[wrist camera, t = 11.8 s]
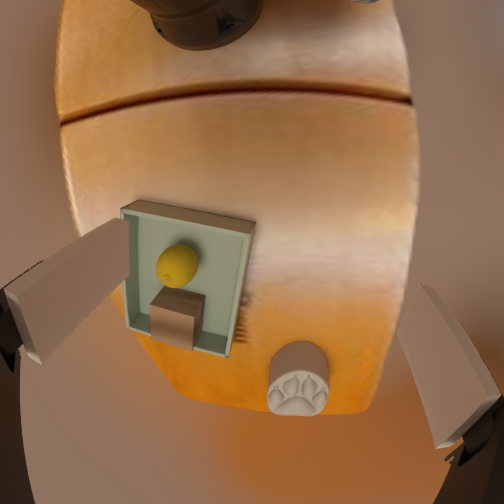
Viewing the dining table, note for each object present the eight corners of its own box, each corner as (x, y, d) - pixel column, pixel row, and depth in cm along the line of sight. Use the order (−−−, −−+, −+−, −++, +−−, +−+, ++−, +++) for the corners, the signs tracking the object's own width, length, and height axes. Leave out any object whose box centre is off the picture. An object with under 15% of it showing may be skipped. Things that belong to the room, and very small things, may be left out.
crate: (137, 199, 40) (120, 208, 35) (255, 222, 39) (250, 234, 34) (139, 312, 48) (126, 328, 44) (234, 338, 47) (228, 358, 43)
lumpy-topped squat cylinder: (269, 386, 51) (264, 420, 43) (272, 339, 46) (267, 375, 38) (321, 388, 50) (322, 423, 42) (332, 341, 45) (337, 378, 37)
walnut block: (165, 284, 44) (149, 304, 39) (205, 295, 44) (194, 316, 38) (164, 317, 47) (151, 338, 41) (202, 328, 47) (192, 351, 41)
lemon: (176, 272, 43) (155, 299, 36) (165, 239, 41) (141, 262, 34) (209, 268, 42) (192, 296, 34) (199, 233, 40) (178, 256, 32)
